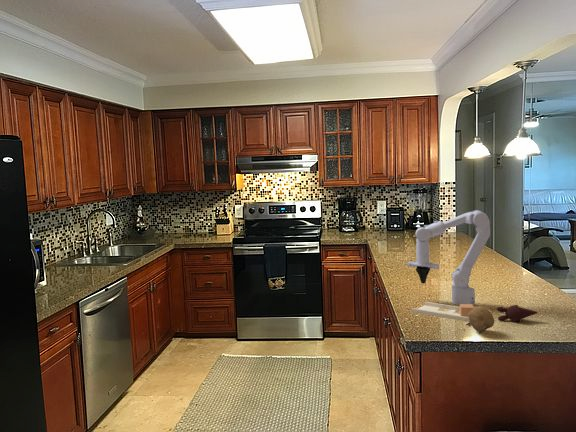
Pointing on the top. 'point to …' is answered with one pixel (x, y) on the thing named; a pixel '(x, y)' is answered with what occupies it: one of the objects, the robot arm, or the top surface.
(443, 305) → the lane
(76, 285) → the top surface
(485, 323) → the natural sponge
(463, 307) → the block
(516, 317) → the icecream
